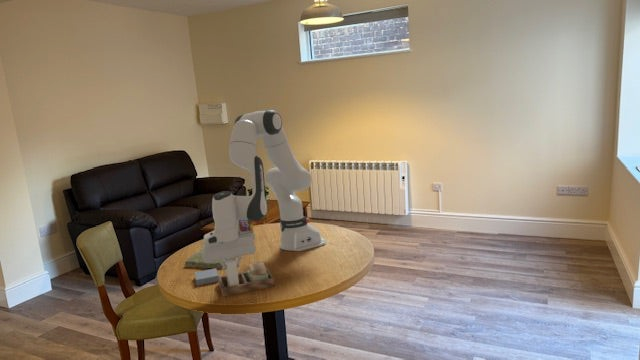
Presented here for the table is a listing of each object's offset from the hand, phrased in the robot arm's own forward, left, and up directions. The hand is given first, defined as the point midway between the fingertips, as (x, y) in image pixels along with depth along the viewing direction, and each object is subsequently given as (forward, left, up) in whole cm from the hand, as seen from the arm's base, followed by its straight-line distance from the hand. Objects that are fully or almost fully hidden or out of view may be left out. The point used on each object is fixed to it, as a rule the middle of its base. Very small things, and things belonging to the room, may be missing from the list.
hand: (231, 268), depth 177 cm
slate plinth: (+9, -14, -8) cm, 19 cm away
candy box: (-15, -61, -8) cm, 63 cm away
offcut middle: (-10, 0, -6) cm, 12 cm away
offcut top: (-10, 0, -4) cm, 11 cm away
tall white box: (0, 0, -8) cm, 8 cm away
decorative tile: (+5, -36, -9) cm, 37 cm away
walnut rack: (-5, 0, -8) cm, 10 cm away
